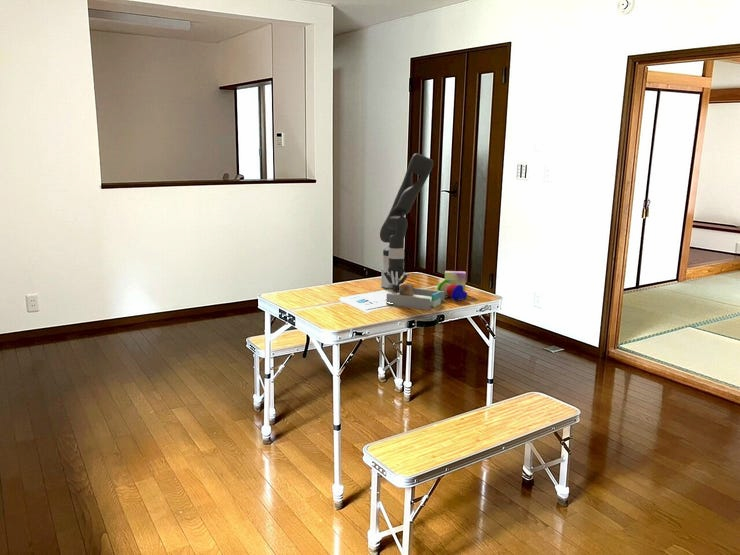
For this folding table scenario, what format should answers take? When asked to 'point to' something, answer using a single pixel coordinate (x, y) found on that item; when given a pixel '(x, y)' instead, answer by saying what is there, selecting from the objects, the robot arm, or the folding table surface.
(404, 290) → the walnut block
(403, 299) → the trap track
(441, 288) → the toy figure
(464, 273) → the box
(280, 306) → the folding table surface
